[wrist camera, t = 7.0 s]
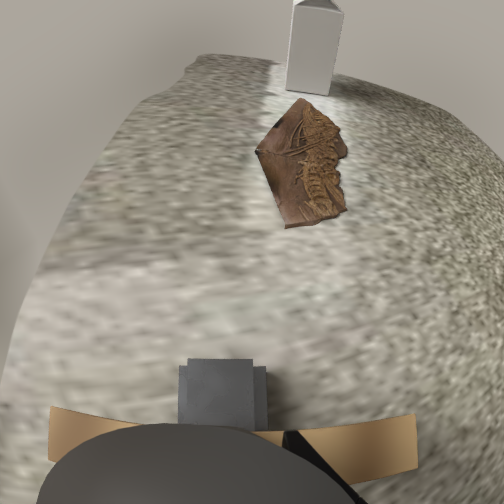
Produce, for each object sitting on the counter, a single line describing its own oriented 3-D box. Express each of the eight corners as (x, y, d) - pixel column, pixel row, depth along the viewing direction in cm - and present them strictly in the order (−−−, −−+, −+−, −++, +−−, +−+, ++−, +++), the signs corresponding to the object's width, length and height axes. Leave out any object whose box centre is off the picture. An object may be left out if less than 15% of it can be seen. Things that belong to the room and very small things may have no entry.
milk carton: (325, 79, 48) (341, -15, 32) (328, 97, 44) (348, -10, 28) (285, 73, 48) (295, -23, 32) (284, 90, 44) (296, -19, 28)
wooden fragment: (344, 242, 29) (347, 236, 28) (233, 220, 30) (233, 213, 29) (343, 109, 43) (345, 104, 42) (274, 96, 44) (275, 90, 43)
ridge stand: (268, 518, 16) (275, 537, 12) (185, 516, 15) (173, 535, 12) (263, 371, 22) (269, 358, 18) (184, 370, 22) (172, 357, 18)
